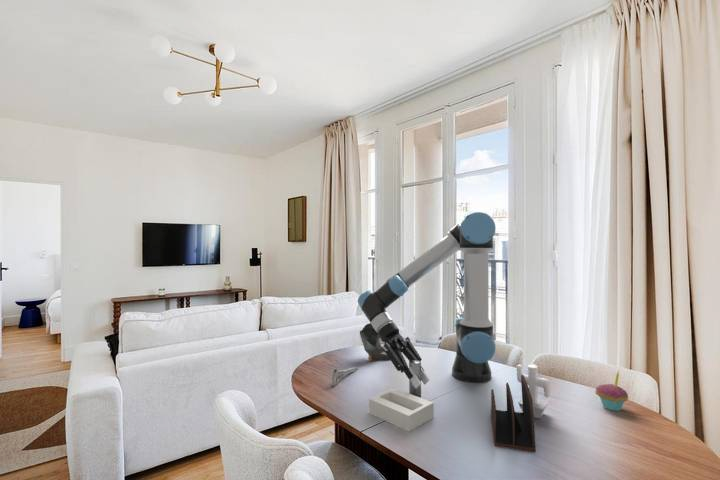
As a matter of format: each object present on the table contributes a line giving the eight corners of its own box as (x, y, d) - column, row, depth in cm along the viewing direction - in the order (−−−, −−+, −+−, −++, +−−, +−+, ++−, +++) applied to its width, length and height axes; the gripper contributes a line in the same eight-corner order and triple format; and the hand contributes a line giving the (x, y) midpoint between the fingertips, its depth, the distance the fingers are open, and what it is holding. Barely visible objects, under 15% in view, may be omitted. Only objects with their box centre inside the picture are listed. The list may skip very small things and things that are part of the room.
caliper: (334, 387, 135) (334, 370, 135) (332, 387, 135) (332, 370, 135) (357, 369, 153) (357, 355, 154) (355, 369, 154) (355, 354, 154)
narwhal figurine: (360, 354, 174) (360, 317, 175) (392, 354, 174) (391, 317, 174) (359, 364, 160) (359, 323, 160) (394, 364, 159) (393, 323, 160)
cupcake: (622, 403, 117) (622, 367, 117) (633, 415, 109) (632, 376, 109) (592, 400, 120) (591, 364, 120) (600, 411, 112) (599, 373, 112)
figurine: (548, 423, 105) (546, 371, 106) (514, 413, 111) (513, 365, 112) (553, 413, 111) (552, 365, 111) (521, 405, 117) (520, 359, 117)
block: (369, 413, 113) (369, 398, 113) (394, 401, 121) (394, 388, 121) (409, 431, 102) (408, 415, 102) (433, 417, 110) (433, 402, 110)
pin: (421, 395, 125) (421, 360, 125) (420, 400, 121) (420, 364, 121) (410, 394, 126) (409, 359, 126) (408, 398, 122) (408, 363, 122)
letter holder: (525, 417, 110) (524, 370, 110) (535, 453, 91) (534, 397, 91) (490, 412, 113) (489, 367, 113) (493, 447, 94) (492, 392, 94)
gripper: (395, 329, 141) (431, 382, 128) (364, 338, 129) (400, 397, 117) (405, 317, 137) (443, 371, 125) (374, 325, 125) (413, 385, 113)
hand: (422, 384), depth 121 cm, fingers closed on pin, 4 cm apart
